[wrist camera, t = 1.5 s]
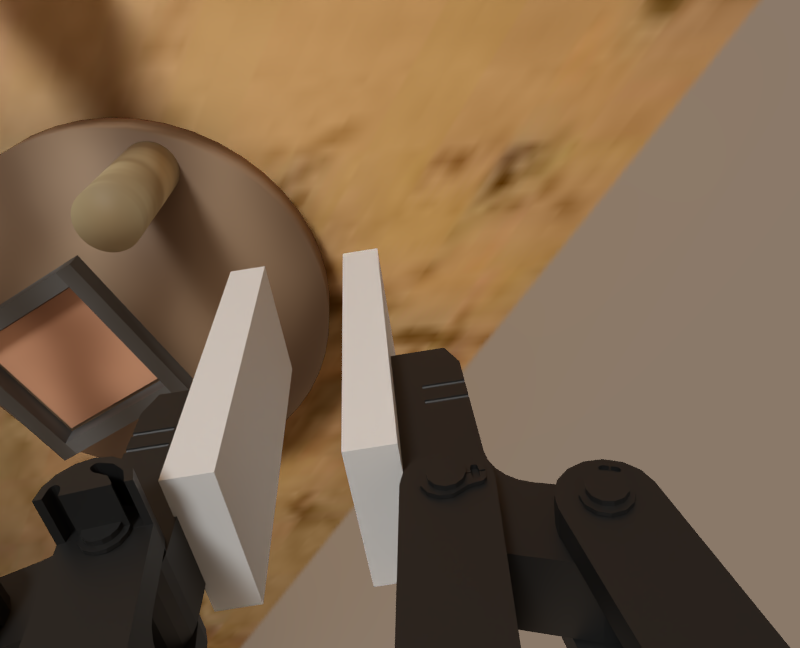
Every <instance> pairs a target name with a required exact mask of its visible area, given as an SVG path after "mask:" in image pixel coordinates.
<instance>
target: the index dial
mask: <svg viewBox="0 0 800 648" xmlns="http://www.w3.org/2000/svg"><path fill="white" fill-rule="evenodd" d="M263 266H265V269H266V273H267V276H268V280H269V284H270V288H271V291H272V295H273V299H274V303H275V306H276V310H277V314H278V317H279V321H280V325H281V329H282V332H283V336H284V340H285V344H286V347H287V351H288V355H289V359H290V362H291V366H292V374H291V383H290V391H289V399H288V407H287V415H286V419H287V418H288V417H289V416H290V415H291V414H292V413H293V412H294V411H295V410H296V409H297V408H298V407H299V406H300V404H301V403H302V401H303V400H304V398H305V397H306V396H307V394H308V393H309V391H310V390H311V388H312V386H313V384H314V382H315V380H316V378H317V376H318V374H319V371H320V368H321V365H322V362H323V359H324V356H325V352H326V345H327V339H328V331H329V288H328V281H327V274H326V270H325V266H324V263H323V259H322V256H321V253H320V250H319V248H318V246H317V243H316V241H315V239H314V237H313V234H312V232H311V230H310V229H309V227H308V225H307V224H306V222H305V221H304V219H303V217H302V216H301V214H300V212H299V211H298V209H297V208H296V207H295V206H294V205H293V203H292V202H291V201H290V200H289V198H288V197H287V196H286V195H285V193H284V192H283V191H282V190H281V189H280V188H279V187H278V186H277V185H276V184H275V183H274V182H273V181H272V180H271V179H270V178H268V177H267V176H266V175H265V174H264V173H263V172H262V171H261V170H259V169H258V168H257V167H255V166H254V165H253V164H251V163H250V162H249V161H247V160H246V159H245V158H243V157H242V156H240V155H239V154H237V153H235V152H233V151H232V150H230V149H228V148H226V147H225V146H223V145H221V144H220V143H218V142H216V141H213V140H211V139H209V138H206V137H204V136H202V135H199V134H197V133H195V132H192V131H189V130H186V129H182V128H179V127H176V126H172V125H169V124H165V123H160V122H154V121H148V120H142V119H133V118H98V119H88V120H80V121H75V122H71V123H67V124H63V125H58V126H55V127H52V128H50V129H47V130H45V131H42V132H40V133H37V134H35V135H32V136H30V137H29V138H27V139H25V140H23V141H22V142H20V143H18V144H17V145H15V146H13V147H12V148H10V149H8V150H7V151H5V152H3V153H2V154H0V407H2V408H3V409H4V410H5V411H7V412H8V413H9V414H11V415H12V416H13V417H14V418H16V419H17V420H18V421H20V422H21V423H22V424H23V425H24V426H26V427H27V428H28V429H29V430H30V431H31V432H33V433H34V434H35V435H36V436H37V437H38V438H39V439H41V440H42V441H43V442H44V443H45V444H46V445H48V446H49V447H50V448H51V449H52V450H53V451H54V452H56V453H57V454H58V455H59V456H60V457H61V458H63V459H64V460H67V459H69V458H70V457H72V456H74V455H76V454H77V453H79V452H83V453H86V454H90V455H93V456H97V457H111V456H112V457H116V458H120V459H122V457H123V455H124V453H126V448H127V445H128V443H129V441H130V438H131V437H133V431H134V429H135V427H136V424H137V422H138V420H139V417H140V415H141V413H142V412H143V411H144V410H145V409H146V408H147V407H148V406H149V405H150V404H151V403H152V402H153V401H154V400H155V399H156V398H157V397H158V396H159V395H160V394H167V393H173V392H179V391H186V390H190V388H191V385H192V382H193V379H194V376H195V373H196V370H197V367H198V364H199V362H200V359H201V356H202V353H203V350H204V347H205V344H206V341H207V338H208V336H209V333H210V330H211V327H212V324H213V321H214V318H215V315H216V312H217V310H218V307H219V304H220V301H221V298H222V295H223V292H224V289H225V286H226V284H227V281H228V278H229V275H230V272H231V271H238V270H244V269H250V268H257V267H263Z"/></svg>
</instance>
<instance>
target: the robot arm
mask: <svg viewBox="0 0 800 648" xmlns="http://www.w3.org/2000/svg"><path fill="white" fill-rule="evenodd" d="M291 374H292V366H291V362H290V359H289V355H288V351H287V347H286V344H285V340H284V336H283V332H282V329H281V325H280V321H279V317H278V314H277V310H276V306H275V303H274V299H273V295H272V291H271V288H270V284H269V280H268V276H267V273H266V269H265V266H263V267H257V268H250V269H244V270H238V271H231V272H230V275H229V278H228V281H227V284H226V286H225V289H224V292H223V295H222V298H221V301H220V304H219V307H218V310H217V312H216V315H215V318H214V321H213V324H212V327H211V330H210V333H209V336H208V338H207V341H206V344H205V347H204V350H203V353H202V356H201V359H200V362H199V364H198V367H197V370H196V373H195V376H194V379H193V382H192V385H191V388H190V390H186V391H179V392H173V393H167V394H160V395H159V396H158V397H157V398H156V399H155V400H154V401H153V402H152V403H151V404H150V405H149V406H148V407H147V408H146V409H145V410H144V411H143V412H142V413H141V415H140V417H139V420H138V422H137V424H136V427H135V429H134V431H133V437H131V438H130V441H129V443H128V445H127V448H126V453H124V455H123V457H122V459H120V458H116V457H112V456H111V457H99V458H93V459H90V460H87V461H84V462H81V463H77V464H75V465H73V466H71V467H69V468H68V469H66V470H64V471H62V472H60V473H59V474H57V475H56V476H54V477H53V478H52V479H51V480H50V481H49V482H47V483H46V484H45V485H44V486H43V487H42V488H41V489H40V491H39V492H38V493H37V495H36V496H35V498H34V499H33V501H32V502H33V504H34V506H35V508H36V509H37V511H38V513H39V515H40V516H41V518H42V520H43V522H44V523H45V525H46V527H47V529H48V530H49V532H50V534H51V536H52V538H53V539H54V541H55V543H56V545H57V546H56V549H55V551H54V554H53V556H51V557H49V558H47V559H45V560H43V561H41V562H38V563H36V564H33V565H31V566H28V567H26V568H23V569H20V570H18V571H15V572H13V573H10V574H8V575H5V576H3V577H0V648H207V635H206V628H205V626H204V624H203V622H202V620H201V617H200V615H199V613H200V608H201V603H202V599H203V594H204V589H205V590H206V593H207V595H208V597H209V599H210V602H211V604H212V606H213V609H214V611H221V610H227V609H234V608H240V607H247V606H253V605H260V604H263V601H264V593H265V585H266V577H267V569H268V560H269V552H270V544H271V536H272V528H273V520H274V512H275V504H276V496H277V488H278V480H279V471H280V463H281V455H282V447H283V439H284V431H285V423H286V415H287V407H288V399H289V391H290V383H291ZM341 452H342V456H343V461H344V465H345V469H346V473H347V477H348V481H349V485H350V490H351V494H352V498H353V502H354V506H355V510H356V515H357V519H358V523H359V527H360V531H361V535H362V539H363V544H364V547H365V552H366V556H367V560H368V564H369V569H370V573H371V577H372V581H373V585H374V587H375V586H382V585H389V584H395V583H397V591H396V628H395V648H521V646H520V639H519V633H518V629H519V630H525V631H531V632H538V633H544V634H550V635H556V636H562V639H563V640H564V643H565V645H566V647H567V648H790V647H789V646H788V645H787V643H786V642H785V641H784V640H783V638H782V637H781V636H780V635H779V634H778V632H777V631H776V630H775V629H774V627H773V626H772V625H771V624H770V623H769V621H768V620H767V619H766V618H765V616H764V615H763V614H762V613H761V612H760V610H759V609H758V608H757V607H756V605H755V604H754V603H753V602H752V600H751V599H750V598H749V597H748V595H747V594H746V593H745V592H744V591H743V590H742V588H741V587H740V586H739V585H738V583H737V582H736V581H735V580H734V578H733V577H732V576H731V575H730V573H729V572H728V571H727V570H726V569H725V567H724V566H723V565H722V564H721V562H720V561H719V560H718V559H717V557H716V556H715V555H714V554H713V553H712V551H711V550H710V549H709V548H708V546H707V545H706V544H705V543H704V541H702V539H701V538H700V537H699V536H698V534H697V533H696V532H695V530H694V529H693V528H692V527H691V526H690V524H689V523H688V522H687V521H686V519H685V518H684V517H683V516H682V515H681V513H680V512H679V511H678V510H677V508H676V507H675V506H674V505H673V503H672V502H671V501H670V500H669V499H668V497H667V496H666V495H665V494H664V492H663V491H662V490H661V489H660V488H659V486H658V485H657V484H656V483H655V481H653V480H652V479H651V478H650V477H649V476H647V475H646V474H645V473H644V472H643V471H642V470H640V469H637V468H635V467H633V466H631V465H628V464H626V463H623V462H618V461H611V460H604V459H601V460H594V461H585V462H582V463H580V464H577V465H575V466H573V467H571V468H569V469H567V470H566V471H565V472H564V473H563V474H562V476H561V477H560V478H559V479H558V480H557V483H556V485H555V484H545V483H534V482H528V481H522V480H518V479H515V478H513V477H510V476H508V475H505V474H504V473H502V472H501V471H499V470H498V469H496V468H495V467H494V466H493V465H492V464H491V463H490V462H489V461H488V460H487V457H486V455H485V453H484V451H483V447H482V444H481V440H480V436H479V433H478V429H477V425H476V421H475V418H474V414H473V410H472V407H471V403H470V399H469V397H468V392H467V388H466V384H465V382H464V377H463V373H462V370H461V366H460V362H459V361H458V360H457V359H456V358H455V357H454V356H453V355H451V354H450V353H449V352H448V351H447V350H446V349H445V348H440V349H434V350H427V351H421V352H414V353H408V354H402V355H395V349H394V344H393V338H392V332H391V326H390V320H389V314H388V309H387V303H386V297H385V291H384V285H383V279H382V274H381V268H380V262H379V256H378V250H377V248H376V249H370V250H363V251H357V252H351V253H345V254H343V309H342V450H341Z"/></svg>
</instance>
